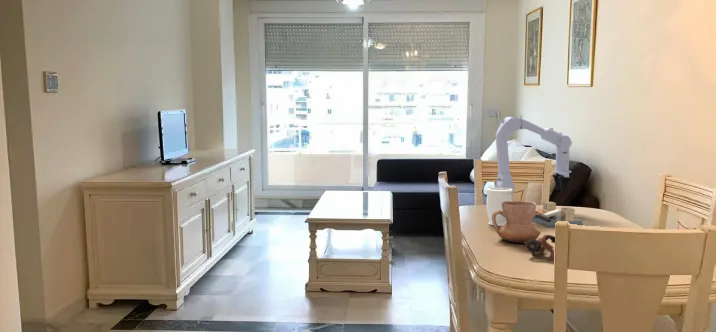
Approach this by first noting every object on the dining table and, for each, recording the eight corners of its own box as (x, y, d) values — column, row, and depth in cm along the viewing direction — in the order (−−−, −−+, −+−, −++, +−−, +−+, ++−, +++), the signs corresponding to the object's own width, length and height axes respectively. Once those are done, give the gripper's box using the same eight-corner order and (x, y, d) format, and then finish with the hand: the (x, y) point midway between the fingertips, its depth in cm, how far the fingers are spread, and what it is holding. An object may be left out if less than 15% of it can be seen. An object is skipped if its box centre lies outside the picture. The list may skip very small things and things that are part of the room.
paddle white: (546, 219, 244) (545, 215, 243) (543, 218, 247) (542, 213, 247) (561, 215, 245) (560, 210, 245) (557, 213, 248) (556, 209, 248)
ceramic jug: (541, 237, 218) (542, 200, 216) (543, 246, 204) (544, 206, 202) (492, 236, 222) (492, 199, 221) (491, 244, 208) (491, 205, 207)
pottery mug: (549, 253, 197) (560, 235, 193) (558, 272, 189) (570, 254, 185) (517, 245, 195) (528, 227, 190) (525, 265, 187) (536, 246, 182)
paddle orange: (541, 214, 247) (542, 209, 247) (537, 212, 250) (538, 208, 250) (555, 217, 248) (556, 213, 248) (551, 216, 252) (553, 211, 251)
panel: (547, 227, 236) (547, 210, 235) (526, 218, 254) (526, 202, 253) (582, 225, 239) (583, 208, 238) (559, 217, 257) (559, 201, 256)
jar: (490, 220, 249) (491, 186, 247) (514, 223, 243) (515, 188, 242) (482, 225, 240) (483, 189, 238) (507, 228, 234) (508, 191, 233)
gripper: (576, 163, 258) (575, 193, 259) (566, 159, 272) (565, 188, 274) (560, 163, 258) (559, 193, 260) (551, 159, 273) (550, 188, 274)
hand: (561, 190), depth 267 cm, fingers open, 7 cm apart
